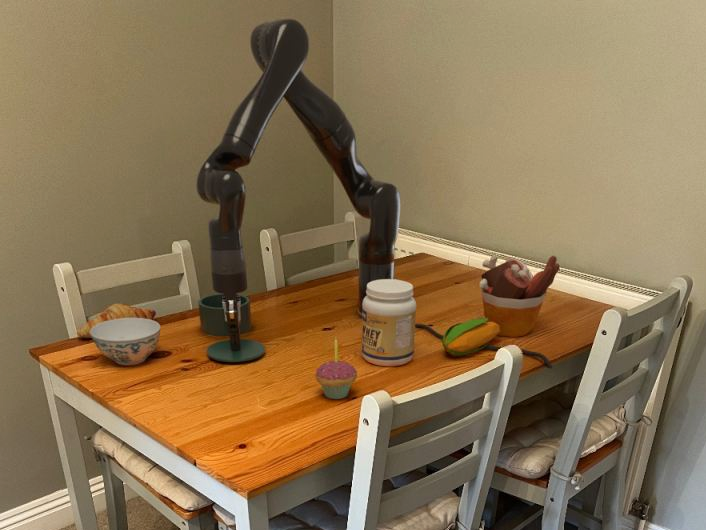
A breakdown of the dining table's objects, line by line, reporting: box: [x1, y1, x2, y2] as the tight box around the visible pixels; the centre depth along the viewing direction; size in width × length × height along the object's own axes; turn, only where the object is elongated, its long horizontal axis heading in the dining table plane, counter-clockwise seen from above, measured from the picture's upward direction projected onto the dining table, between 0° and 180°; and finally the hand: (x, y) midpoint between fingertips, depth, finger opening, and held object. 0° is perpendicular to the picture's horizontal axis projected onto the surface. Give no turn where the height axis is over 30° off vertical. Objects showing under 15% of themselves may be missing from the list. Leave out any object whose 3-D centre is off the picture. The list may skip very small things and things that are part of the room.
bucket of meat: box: [478, 254, 560, 338], centre depth 185 cm, size 20×16×20 cm
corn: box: [441, 317, 500, 357], centre depth 177 cm, size 7×8×20 cm
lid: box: [206, 330, 266, 363], centre depth 170 cm, size 13×13×6 cm
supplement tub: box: [361, 279, 417, 367], centre depth 169 cm, size 12×12×17 cm
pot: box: [197, 293, 253, 338], centre depth 186 cm, size 12×12×8 cm
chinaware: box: [90, 318, 161, 366], centre depth 167 cm, size 15×15×8 cm
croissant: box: [76, 302, 157, 339], centre depth 185 cm, size 21×10×8 cm, turn 136°
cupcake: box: [315, 335, 358, 400], centre depth 152 cm, size 9×8×12 cm
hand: (235, 344), depth 171 cm, fingers closed on lid, 2 cm apart
